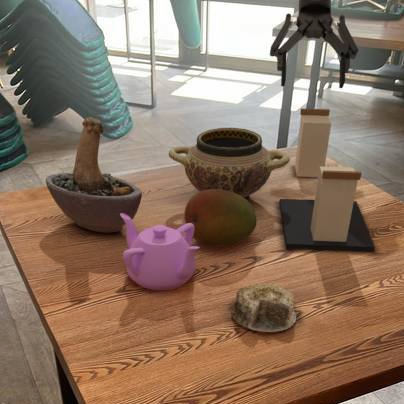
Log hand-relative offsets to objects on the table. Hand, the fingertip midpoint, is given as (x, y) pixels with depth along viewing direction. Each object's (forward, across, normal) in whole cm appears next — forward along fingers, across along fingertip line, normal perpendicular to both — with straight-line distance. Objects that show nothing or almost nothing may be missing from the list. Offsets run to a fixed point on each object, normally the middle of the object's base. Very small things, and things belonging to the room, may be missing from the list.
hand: (312, 84), depth 133 cm
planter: (+43, +44, +19) cm, 64 cm away
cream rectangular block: (+20, 0, -3) cm, 20 cm away
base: (+40, 0, +17) cm, 43 cm away
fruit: (+45, +20, +22) cm, 54 cm away
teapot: (+55, +30, +31) cm, 70 cm away
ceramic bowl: (+32, +19, +9) cm, 38 cm away
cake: (+62, +13, +39) cm, 75 cm away
